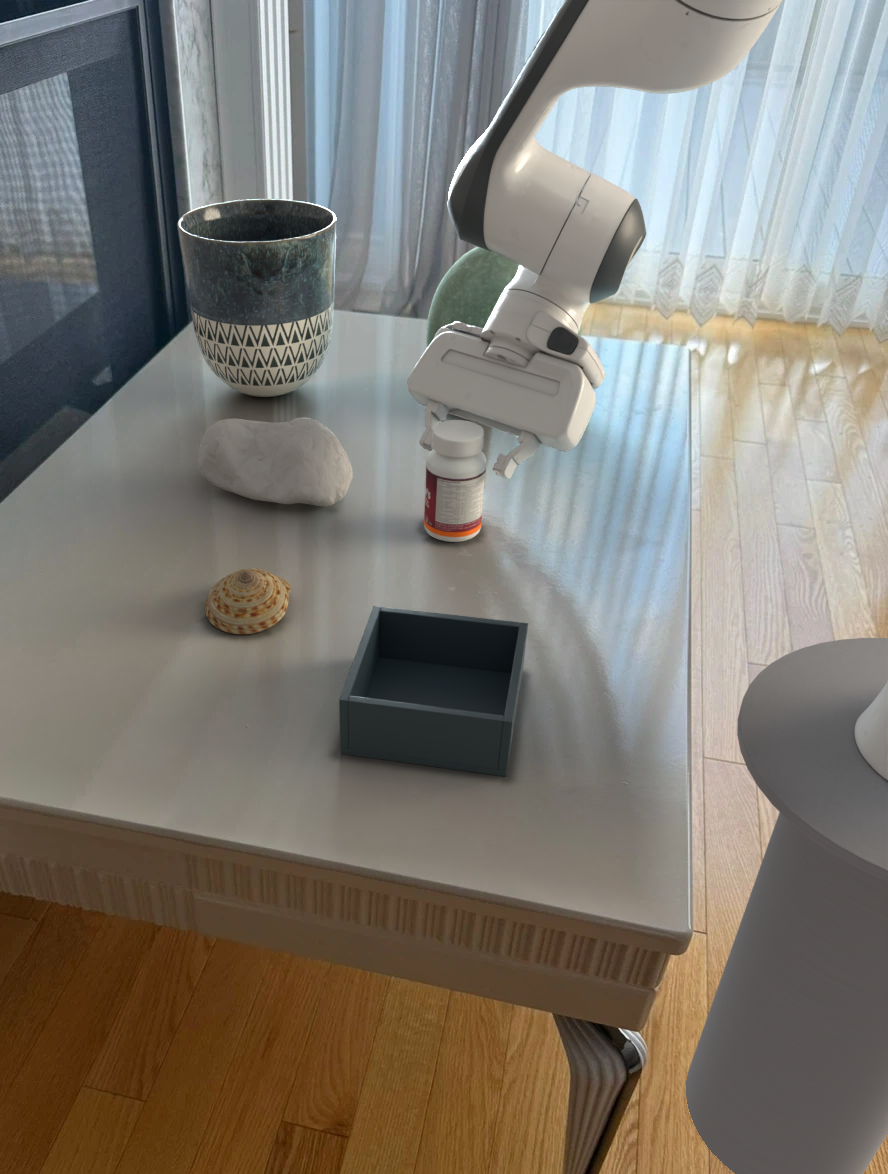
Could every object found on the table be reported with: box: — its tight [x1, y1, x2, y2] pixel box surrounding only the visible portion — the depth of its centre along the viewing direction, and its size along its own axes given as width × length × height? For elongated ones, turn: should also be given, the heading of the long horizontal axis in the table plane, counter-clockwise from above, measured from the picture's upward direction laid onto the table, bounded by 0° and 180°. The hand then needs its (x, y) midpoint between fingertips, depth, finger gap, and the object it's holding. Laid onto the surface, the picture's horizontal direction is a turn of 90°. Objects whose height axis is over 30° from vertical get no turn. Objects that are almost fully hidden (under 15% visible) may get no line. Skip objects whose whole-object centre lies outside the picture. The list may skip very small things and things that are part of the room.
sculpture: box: [425, 246, 583, 349], centre depth 132 cm, size 19×16×20 cm
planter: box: [176, 198, 337, 398], centre depth 135 cm, size 20×20×21 cm
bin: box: [338, 605, 529, 777], centre depth 87 cm, size 13×13×6 cm
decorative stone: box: [197, 416, 354, 508], centre depth 117 cm, size 17×10×10 cm
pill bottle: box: [423, 419, 487, 543], centre depth 108 cm, size 6×6×11 cm
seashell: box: [204, 568, 292, 635], centre depth 100 cm, size 8×6×8 cm
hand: (463, 461), depth 108 cm, fingers open, 8 cm apart
